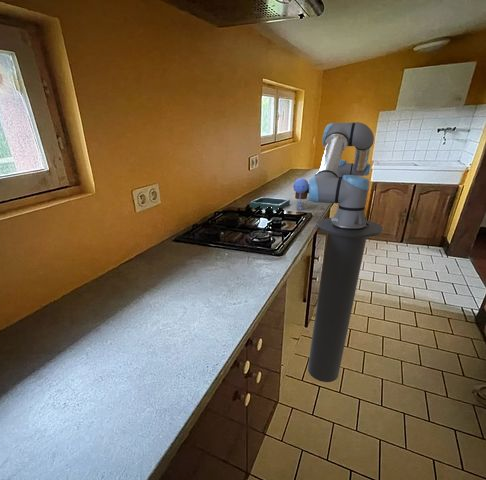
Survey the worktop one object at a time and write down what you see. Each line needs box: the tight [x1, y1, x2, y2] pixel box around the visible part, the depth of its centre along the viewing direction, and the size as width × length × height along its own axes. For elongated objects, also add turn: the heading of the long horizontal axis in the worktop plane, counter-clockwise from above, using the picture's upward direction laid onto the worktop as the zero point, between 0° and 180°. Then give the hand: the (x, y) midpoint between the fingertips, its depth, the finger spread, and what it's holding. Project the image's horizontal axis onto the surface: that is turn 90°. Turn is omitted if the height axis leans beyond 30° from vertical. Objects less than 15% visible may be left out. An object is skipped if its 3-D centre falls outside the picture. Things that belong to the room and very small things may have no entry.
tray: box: [249, 196, 291, 211], centre depth 192 cm, size 20×18×3 cm
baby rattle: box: [292, 177, 309, 211], centre depth 177 cm, size 9×9×18 cm
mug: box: [294, 187, 309, 200], centre depth 193 cm, size 12×8×9 cm, turn 75°
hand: (299, 189), depth 192 cm, fingers closed on mug, 9 cm apart
